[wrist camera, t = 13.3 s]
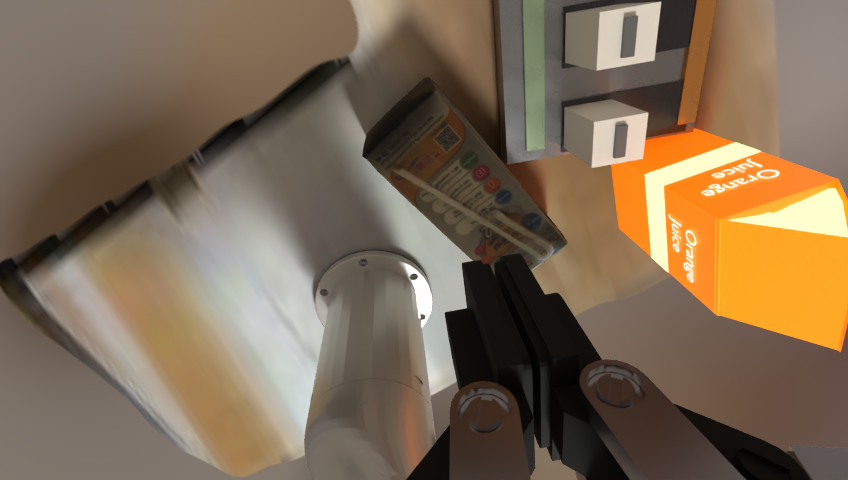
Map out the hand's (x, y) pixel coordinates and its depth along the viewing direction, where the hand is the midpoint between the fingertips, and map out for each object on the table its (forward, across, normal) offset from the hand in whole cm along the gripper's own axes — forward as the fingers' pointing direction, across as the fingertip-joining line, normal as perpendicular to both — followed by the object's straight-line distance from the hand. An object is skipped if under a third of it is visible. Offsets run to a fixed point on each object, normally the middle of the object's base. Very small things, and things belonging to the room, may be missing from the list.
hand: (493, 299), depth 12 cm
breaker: (+25, -14, +3) cm, 29 cm away
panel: (+27, -16, -4) cm, 31 cm away
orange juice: (+27, -22, +10) cm, 37 cm away
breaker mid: (+25, -14, -4) cm, 29 cm away
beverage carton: (+28, -3, +7) cm, 29 cm away
